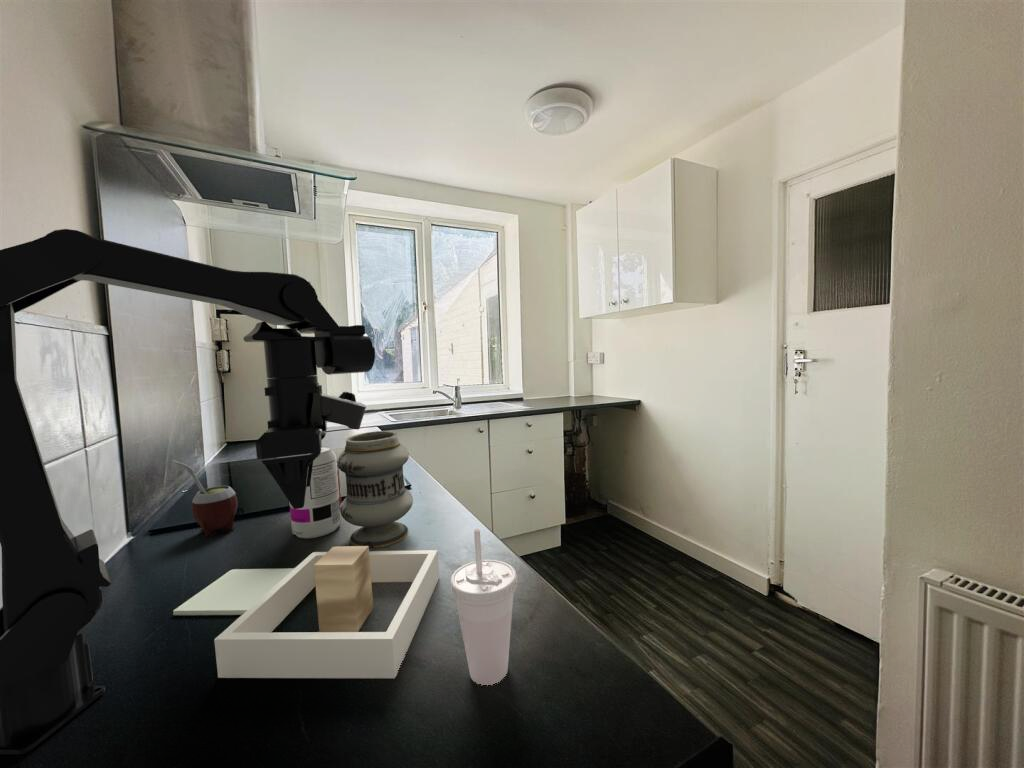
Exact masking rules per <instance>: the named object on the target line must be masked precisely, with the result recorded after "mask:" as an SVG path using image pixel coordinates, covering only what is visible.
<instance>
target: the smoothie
mask: <svg viewBox="0 0 1024 768" xmlns="http://www.w3.org/2000/svg"><path fill="white" fill-rule="evenodd" d="M473 532H474V534H473V535H474V551H475V554H474V555H475V561H471V562H468V563H466V564H464V565H462V566H460V567H459V568H457V569H456V570H455V571H454V572H453V573H452V575H451V576H450V592H451V595H452V596H453V597H454V598H455V604H456V608H457V613H458V618H459V624H460V628H461V629H460V630H461V635H462V639H463V645H464V649H465V655H466V660H467V666H468V670H469V671H468V672H469V677H470V678H471V680H472V681H473V682H474V683H475V682H476V683H475V684H477V685H479V684H481V685H480V686H483V685H487V686H486V687H488V685H491V686H494V685H493V684H495V683H497V684H499V683H501V682H502V681H503V680H504V679H505V678H506V677H505V676H507V675H506V674H508V671H509V658H510V656H509V655H510V646H511V645H510V642H511V630H512V618H513V617H512V615H513V605H514V604H513V603H514V592H515V591H516V589H517V587H518V579H517V572H516V570H515V568H514V567H513V566H511V565H510V564H509V563H507V562H505V561H501V560H498V559H482V546H481V545H482V543H481V530H480V529H479V528H476V529H474V530H473ZM504 677H505V678H504ZM503 678H504V679H503ZM502 679H503V680H502ZM501 680H502V681H501ZM500 681H501V682H500ZM498 682H499V683H498ZM495 685H496V684H495Z"/></svg>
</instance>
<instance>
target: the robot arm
mask: <svg viewBox="0 0 1024 768" xmlns="http://www.w3.org/2000/svg"><path fill="white" fill-rule="evenodd" d="M80 281H81V282H82V281H85V282H86V281H87V282H88V281H90V282H94V283H98V284H99V283H100V284H104V285H105V284H106V285H109V286H115V287H121V288H126V289H131V290H138V291H143V292H148V293H154V294H160V295H164V296H169V297H175V298H181V299H185V300H191V301H196V302H203V303H208V304H212V305H213V304H214V305H219V306H222V307H225V308H227V309H230V310H233V311H235V312H238V313H240V314H242V315H245V316H247V317H249V318H252V319H255V320H258V321H260V322H257V323H256V324H255V325H254V328H253V329H252V330H251V331H249V332H248V334H246V335H245V336H243V341H244V342H246V343H263V347H264V350H263V351H264V361H265V372H266V383H267V386H266V387H264V389H263V390H264V396H265V397H268V405H269V406H268V407H269V418H270V419H269V420H267V430H266V431H265V432H263V434H262V435H261V436H260V437H258V438H257V440H256V441H255V450H256V459H257V460H260V463H261V465H264V467H265V468H266V470H267V471H268V472H269V474H270V475H271V476H272V478H273V479H274V481H275V482H276V484H277V486H279V488H280V490H281V491H282V493H283V495H284V496H285V497H286V499H287V501H288V502H289V505H290V504H291V505H292V507H293V508H294V509H299V508H303V507H304V503H305V495H306V487H309V486H310V483H311V476H312V468H313V461H314V460H315V459H316V458H317V457H318V456H319V455H320V453H321V447H322V446H323V445H322V444H323V443H322V441H323V439H325V437H326V435H327V430H328V425H327V423H333V424H337V425H342V426H346V427H347V428H348V429H352V430H360V428H361V425H362V421H363V418H364V415H365V411H366V409H367V407H366V404H364V403H362V402H358V401H357V400H356V399H357V398H356V395H355V393H352V392H349V391H346V390H344V391H343V392H342V393H341V394H340V395H338V396H335V395H329V394H326V393H323V388H322V387H323V386H322V384H320V382H319V380H318V369H322V371H323V373H324V374H326V375H328V376H329V375H331V376H332V375H344V374H359V373H368V372H371V370H372V369H373V367H374V364H375V362H376V361H375V360H376V351H375V350H376V349H375V348H376V347H375V346H373V342H372V340H371V338H370V336H369V335H368V334H367V333H366V326H365V325H364V324H362V325H361V324H355V325H349V326H348V325H338V323H337V322H336V321H335V320H334V318H333V316H332V315H331V314H330V313H329V312H328V310H327V309H326V308H325V307H324V306H323V304H322V303H321V302H320V300H319V299H318V294H317V291H316V289H315V287H313V285H312V284H311V281H309V280H308V279H307V278H306V277H303V276H301V275H299V274H294V273H284V272H283V273H282V272H273V271H272V272H271V271H240V270H231V269H227V268H222V267H219V266H214V265H210V264H205V263H203V262H198V261H194V260H190V259H185V258H181V257H178V256H173V255H169V254H165V253H160V252H157V251H153V250H148V249H144V248H140V247H137V246H133V245H129V244H123V243H119V242H115V241H111V240H107V239H103V238H99V237H96V236H92V235H89V234H87V233H86V232H83V231H80V230H78V229H71V228H70V229H69V228H61V229H55V230H53V231H51V232H48V233H47V234H45V235H44V236H42V237H39V238H37V239H34V240H32V241H31V240H30V241H28V242H24V243H21V244H16V245H13V246H9V247H6V248H2V249H0V548H1V597H2V606H1V608H0V755H18V756H19V755H23V754H26V753H29V752H31V750H33V749H35V748H36V747H37V746H38V745H40V744H41V743H42V742H43V741H45V739H47V738H49V737H50V736H51V735H52V734H53V733H55V732H56V731H57V730H59V729H60V728H61V727H62V726H64V725H65V724H66V723H68V722H69V721H70V720H71V719H73V718H75V716H77V715H78V714H79V713H80V712H82V711H83V710H84V709H85V708H87V707H88V706H89V705H91V704H92V703H94V702H95V701H96V700H97V699H98V698H100V697H101V696H103V694H105V692H106V686H105V685H91V684H92V683H93V681H94V679H93V677H94V676H93V670H92V668H93V667H92V660H91V653H90V644H89V642H85V640H84V633H83V630H82V629H83V628H85V626H87V625H88V624H89V623H90V622H91V621H92V620H93V619H94V618H95V616H96V614H97V613H98V612H99V611H100V609H101V608H102V605H103V592H102V588H103V587H110V586H111V585H112V584H111V580H110V576H109V573H108V571H107V568H106V564H105V562H104V561H103V560H102V559H101V558H100V551H99V543H98V541H97V537H96V535H95V531H94V529H92V528H91V529H89V530H87V531H84V532H82V533H80V534H77V535H74V534H73V532H72V531H71V529H70V528H69V527H68V526H67V524H66V523H65V522H64V520H63V519H62V516H61V513H60V509H59V506H58V503H57V501H56V497H55V493H54V491H53V487H52V485H51V482H50V479H49V475H48V472H47V470H46V466H45V463H44V461H43V460H44V459H43V458H42V457H43V456H42V454H41V451H40V447H39V445H38V442H37V438H36V435H35V432H34V428H33V426H32V423H31V419H30V417H29V414H28V409H27V407H26V405H25V401H24V398H23V395H22V393H21V389H20V386H19V382H18V379H17V375H18V374H17V341H16V323H15V322H16V320H15V319H16V318H15V314H17V313H19V312H21V311H24V310H25V309H27V308H29V307H32V306H34V305H36V304H38V303H40V302H42V301H44V300H46V299H47V298H49V297H52V296H53V295H55V294H57V293H59V292H60V291H62V290H64V289H66V288H68V287H70V286H73V285H74V284H76V283H78V282H80ZM269 324H270V325H272V326H273V325H274V326H284V327H286V328H283V327H282V328H279V327H278V328H275V327H272V326H270V325H269ZM302 334H304V335H305V334H307V335H308V334H314V336H306V335H305V336H304V335H302Z"/></svg>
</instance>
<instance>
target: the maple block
mask: <svg viewBox="0 0 1024 768" xmlns="http://www.w3.org/2000/svg"><path fill="white" fill-rule="evenodd" d="M369 551H370V547H369V546H353V545H351V546H349V545H347V546H332V547H331V548H330V549H329V550H328V551H326V552H327V553H326V554H325V555H324V556H323V557H322V558H321V559H320V560H319V561H318V562H317V563H316V564H314V573H315V585H316V586H315V595H316V606H317V607H316V608H317V609H316V610H317V621H318V630H319V631H318V632H360V629H361V628H362V626H363V625H364V623H365V622H366V620H367V618H368V617H369V615H370V614H371V613H372V611H373V609H374V603H373V602H374V600H373V587H372V582H371V571H370V557H369Z"/></svg>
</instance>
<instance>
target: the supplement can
mask: <svg viewBox="0 0 1024 768" xmlns="http://www.w3.org/2000/svg"><path fill="white" fill-rule="evenodd" d="M336 458H337V455H336V453H335V452H334V450H333V448H332V447H331V446H327V445H322V447H321V453H320V455H319V456H318V457H317V458H316V459H315V460H314V461H313V468H312V476H311V483H310V486H309V487H306V495H305V503H304V507H303V508H299V509H294V508H293V507H292V505H291V504H290V503H289V512H290V523H291V532H292V534H293V535H296V537H297V538H299V539H315V538H318V537H323V536H326V535H329V534H331V533H333V532H335V531H336V530H337V529H338V527H339V526H340V525H341V523H342V515H341V512H340V508H341V506H340V500H339V487H338V475H337V462H336Z"/></svg>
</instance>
